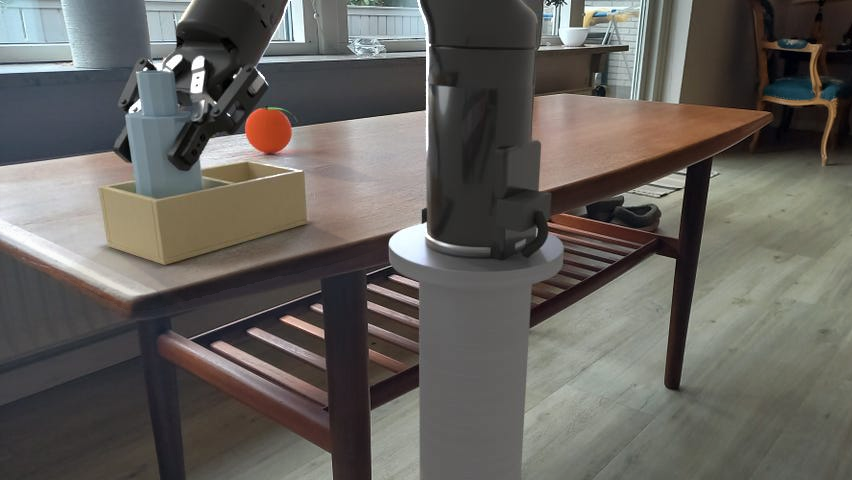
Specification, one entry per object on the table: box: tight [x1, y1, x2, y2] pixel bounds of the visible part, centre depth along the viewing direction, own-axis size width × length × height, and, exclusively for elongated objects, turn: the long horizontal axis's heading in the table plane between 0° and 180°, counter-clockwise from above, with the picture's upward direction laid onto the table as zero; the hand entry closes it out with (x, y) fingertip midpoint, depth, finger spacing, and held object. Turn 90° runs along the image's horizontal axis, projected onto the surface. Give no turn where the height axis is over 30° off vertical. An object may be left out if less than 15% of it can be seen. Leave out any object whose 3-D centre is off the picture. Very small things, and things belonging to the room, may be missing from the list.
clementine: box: [244, 105, 298, 154], centre depth 106 cm, size 8×7×7 cm
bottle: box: [124, 71, 204, 199], centre depth 61 cm, size 5×6×14 cm
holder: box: [97, 159, 308, 266], centre depth 65 cm, size 8×16×6 cm, turn 147°
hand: (150, 161), depth 59 cm, fingers closed on bottle, 5 cm apart
